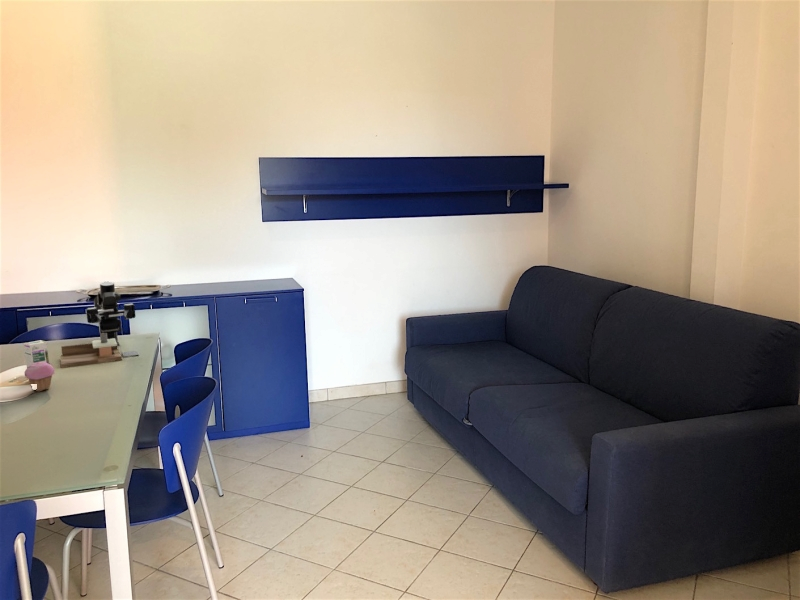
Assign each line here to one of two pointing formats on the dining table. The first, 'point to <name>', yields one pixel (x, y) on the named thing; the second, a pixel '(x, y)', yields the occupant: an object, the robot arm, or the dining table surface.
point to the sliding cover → (104, 341)
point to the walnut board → (86, 355)
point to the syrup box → (36, 352)
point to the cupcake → (40, 375)
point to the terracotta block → (105, 351)
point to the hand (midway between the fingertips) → (113, 319)
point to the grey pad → (130, 353)
